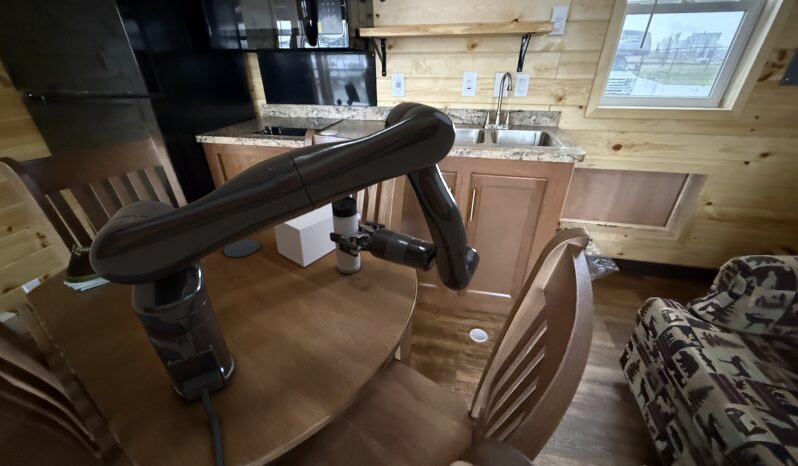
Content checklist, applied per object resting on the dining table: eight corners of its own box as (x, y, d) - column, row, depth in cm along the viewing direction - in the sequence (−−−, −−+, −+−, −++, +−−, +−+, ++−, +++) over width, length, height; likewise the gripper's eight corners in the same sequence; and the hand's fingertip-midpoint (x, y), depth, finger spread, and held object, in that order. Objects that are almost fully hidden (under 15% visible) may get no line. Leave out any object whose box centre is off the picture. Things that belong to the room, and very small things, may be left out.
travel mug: (362, 261, 90) (359, 195, 80) (357, 274, 84) (353, 206, 74) (341, 259, 90) (335, 194, 81) (334, 273, 84) (327, 204, 75)
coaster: (263, 251, 93) (262, 250, 93) (225, 261, 89) (225, 260, 88) (257, 237, 101) (256, 236, 100) (222, 245, 96) (222, 244, 96)
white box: (304, 267, 87) (367, 233, 105) (299, 230, 81) (367, 202, 100) (278, 252, 93) (342, 223, 112) (272, 217, 88) (340, 193, 106)
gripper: (408, 221, 79) (354, 207, 86) (378, 247, 68) (319, 229, 75) (407, 246, 83) (355, 231, 90) (378, 275, 72) (322, 255, 79)
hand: (339, 230), depth 83 cm, fingers closed on travel mug, 6 cm apart
